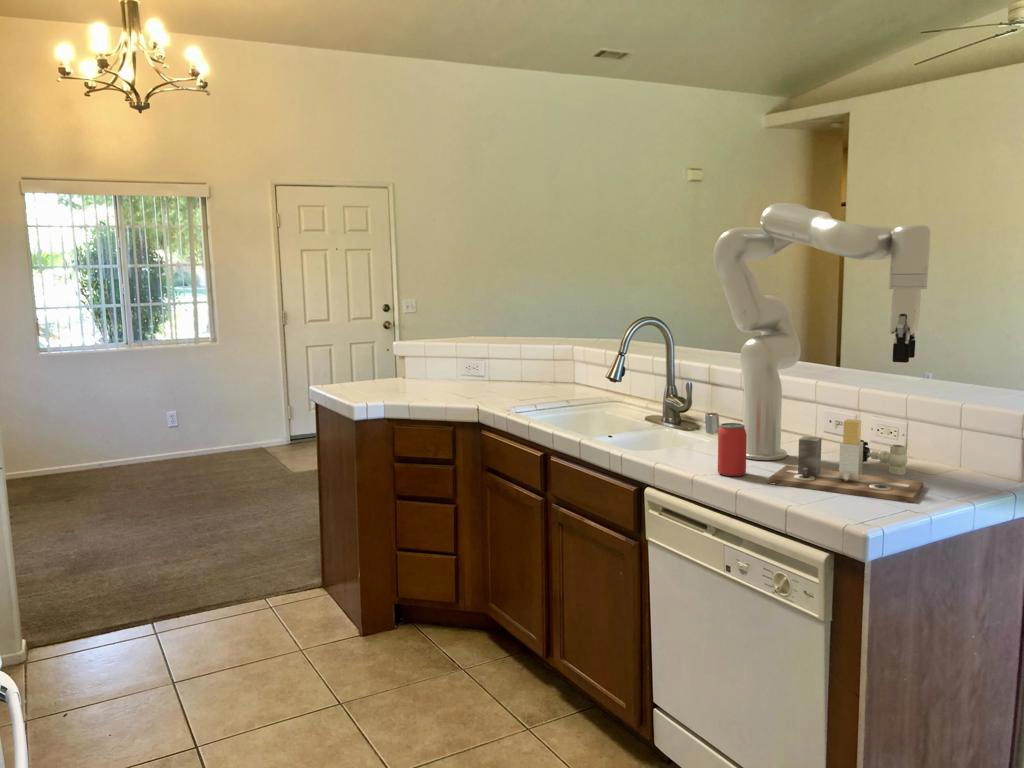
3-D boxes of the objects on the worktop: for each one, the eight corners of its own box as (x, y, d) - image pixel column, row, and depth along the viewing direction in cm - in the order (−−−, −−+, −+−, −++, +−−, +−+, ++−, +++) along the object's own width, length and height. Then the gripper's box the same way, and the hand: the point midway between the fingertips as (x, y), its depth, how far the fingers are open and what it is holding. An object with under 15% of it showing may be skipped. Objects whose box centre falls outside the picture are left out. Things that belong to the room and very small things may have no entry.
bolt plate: (767, 483, 181) (768, 441, 180) (786, 470, 193) (787, 431, 191) (912, 502, 164) (914, 457, 163) (923, 487, 175) (925, 444, 174)
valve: (912, 472, 188) (865, 463, 198) (914, 445, 187) (866, 437, 197) (898, 477, 184) (850, 467, 194) (899, 449, 184) (851, 441, 193)
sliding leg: (836, 480, 176) (838, 423, 174) (843, 474, 181) (845, 418, 179) (855, 483, 174) (857, 425, 172) (861, 476, 179) (864, 420, 177)
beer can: (733, 478, 186) (733, 428, 184) (711, 473, 191) (712, 424, 190) (751, 474, 189) (752, 425, 188) (730, 469, 195) (731, 421, 193)
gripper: (895, 281, 183) (890, 354, 185) (883, 283, 169) (879, 363, 171) (931, 281, 179) (926, 356, 181) (922, 283, 165) (917, 365, 167)
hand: (903, 359), depth 176 cm, fingers open, 9 cm apart
